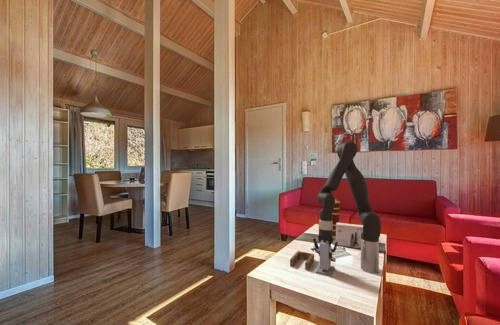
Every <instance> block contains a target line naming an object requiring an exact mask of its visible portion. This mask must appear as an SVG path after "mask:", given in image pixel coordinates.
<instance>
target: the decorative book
mask: <svg viewBox="0 0 500 325" xmlns="http://www.w3.org/2000/svg"><path fill="white" fill-rule="evenodd" d="M334 198H335V206H334V209H333V213H332V223H333V238H334V239H336V223H340V214H341V213H340V202H341V201H340V200H339V199H338V198H336V197H334Z"/></svg>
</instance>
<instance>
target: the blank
mask: <svg viewBox="0 0 500 325" xmlns="http://www.w3.org/2000/svg"><path fill="white" fill-rule="evenodd" d="M319 246H320V256H319V265H320V266H319V265H318V266H319V268H320V269H325V270H328V269H329V267H330V265H332V258H331V259H329V243H326V242H319Z"/></svg>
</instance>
